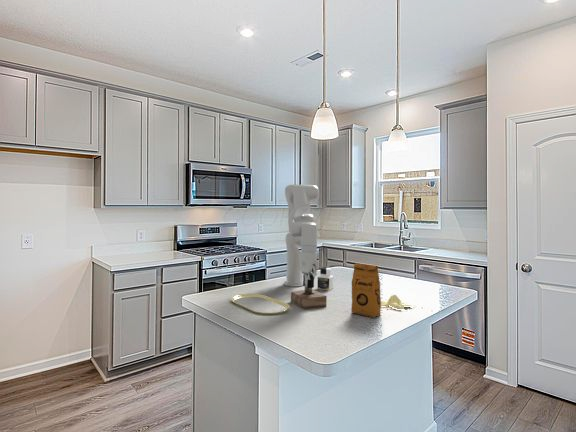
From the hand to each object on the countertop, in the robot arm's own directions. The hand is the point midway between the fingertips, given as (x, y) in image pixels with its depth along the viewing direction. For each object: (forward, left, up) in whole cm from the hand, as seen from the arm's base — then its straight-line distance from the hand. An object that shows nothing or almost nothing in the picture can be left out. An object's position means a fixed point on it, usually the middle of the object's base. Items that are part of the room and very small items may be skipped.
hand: (308, 286), depth 167 cm
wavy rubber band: (-8, -22, -9) cm, 25 cm away
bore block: (0, 0, -8) cm, 8 cm away
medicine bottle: (-24, +24, -9) cm, 35 cm away
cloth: (+20, +36, -9) cm, 42 cm away
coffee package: (+24, +16, -9) cm, 30 cm away
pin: (0, 0, -3) cm, 3 cm away
